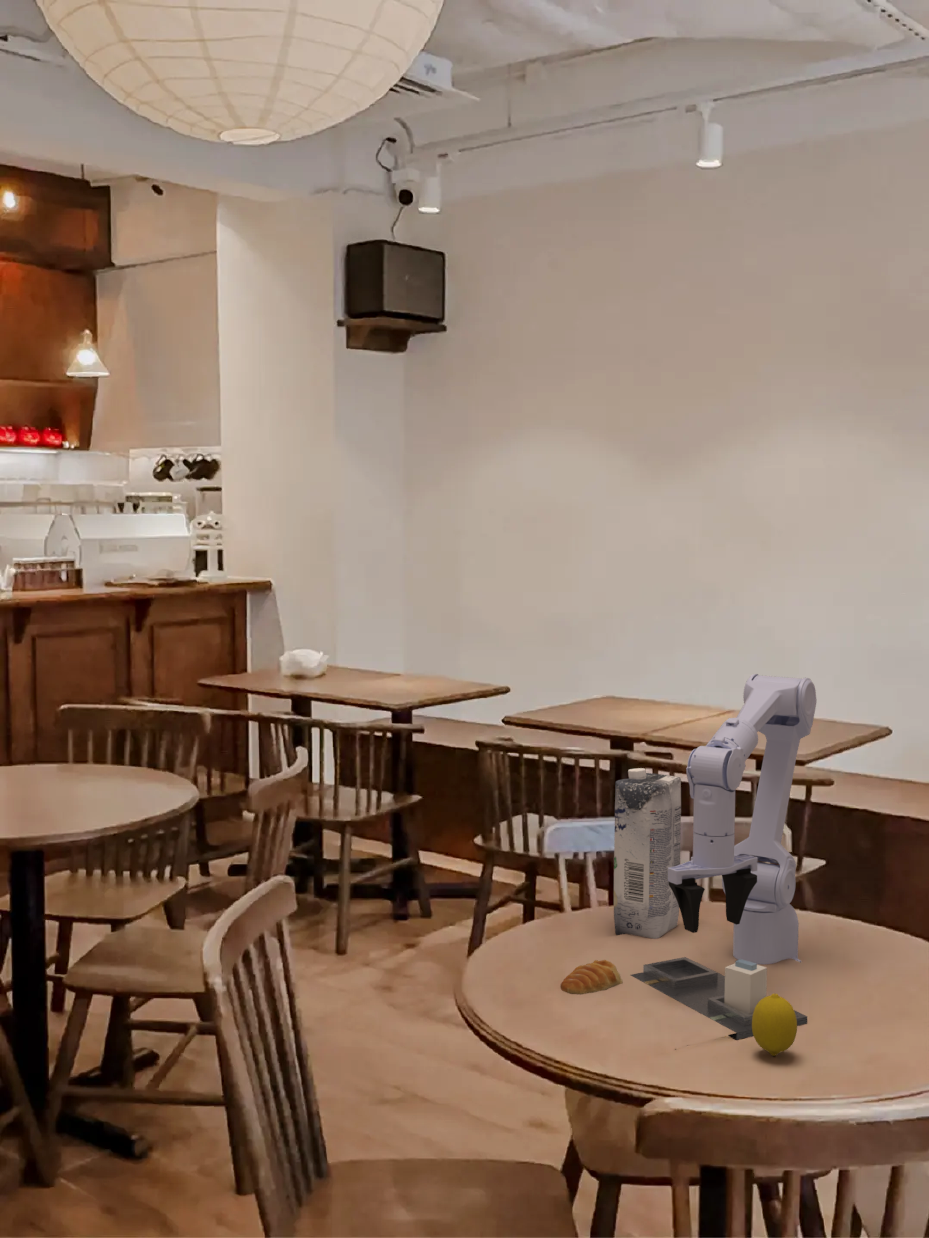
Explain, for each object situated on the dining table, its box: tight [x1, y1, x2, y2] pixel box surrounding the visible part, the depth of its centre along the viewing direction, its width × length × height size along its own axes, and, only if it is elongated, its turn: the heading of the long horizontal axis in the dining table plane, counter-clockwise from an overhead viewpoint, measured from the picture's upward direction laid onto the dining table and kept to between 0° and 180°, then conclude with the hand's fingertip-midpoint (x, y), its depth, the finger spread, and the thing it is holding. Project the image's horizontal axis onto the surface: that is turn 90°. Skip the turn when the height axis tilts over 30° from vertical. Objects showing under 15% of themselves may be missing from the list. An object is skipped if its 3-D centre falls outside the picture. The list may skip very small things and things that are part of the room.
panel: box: [630, 956, 808, 1041], centre depth 181 cm, size 12×24×2 cm, turn 28°
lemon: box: [752, 992, 798, 1057], centre depth 163 cm, size 6×6×8 cm
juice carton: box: [613, 767, 682, 940], centre depth 210 cm, size 9×10×27 cm
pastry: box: [560, 959, 624, 995], centre depth 186 cm, size 9×7×4 cm
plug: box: [724, 959, 768, 1014], centre depth 175 cm, size 4×4×7 cm
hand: (712, 926), depth 183 cm, fingers open, 7 cm apart
